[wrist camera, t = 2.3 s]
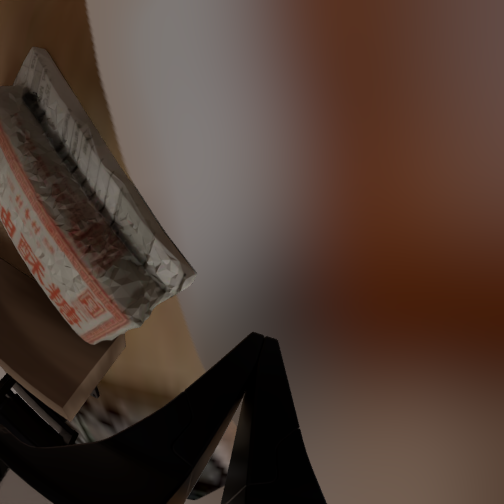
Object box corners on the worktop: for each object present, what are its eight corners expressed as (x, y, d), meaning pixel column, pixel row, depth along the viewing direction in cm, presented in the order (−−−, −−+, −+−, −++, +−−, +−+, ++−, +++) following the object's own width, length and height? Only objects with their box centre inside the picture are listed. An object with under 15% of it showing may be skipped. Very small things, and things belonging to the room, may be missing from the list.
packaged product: (166, 329, 12) (79, 363, 17) (206, 272, 16) (115, 321, 21) (-10, 46, 8) (-47, 160, 12) (50, 44, 12) (-2, 143, 16)
